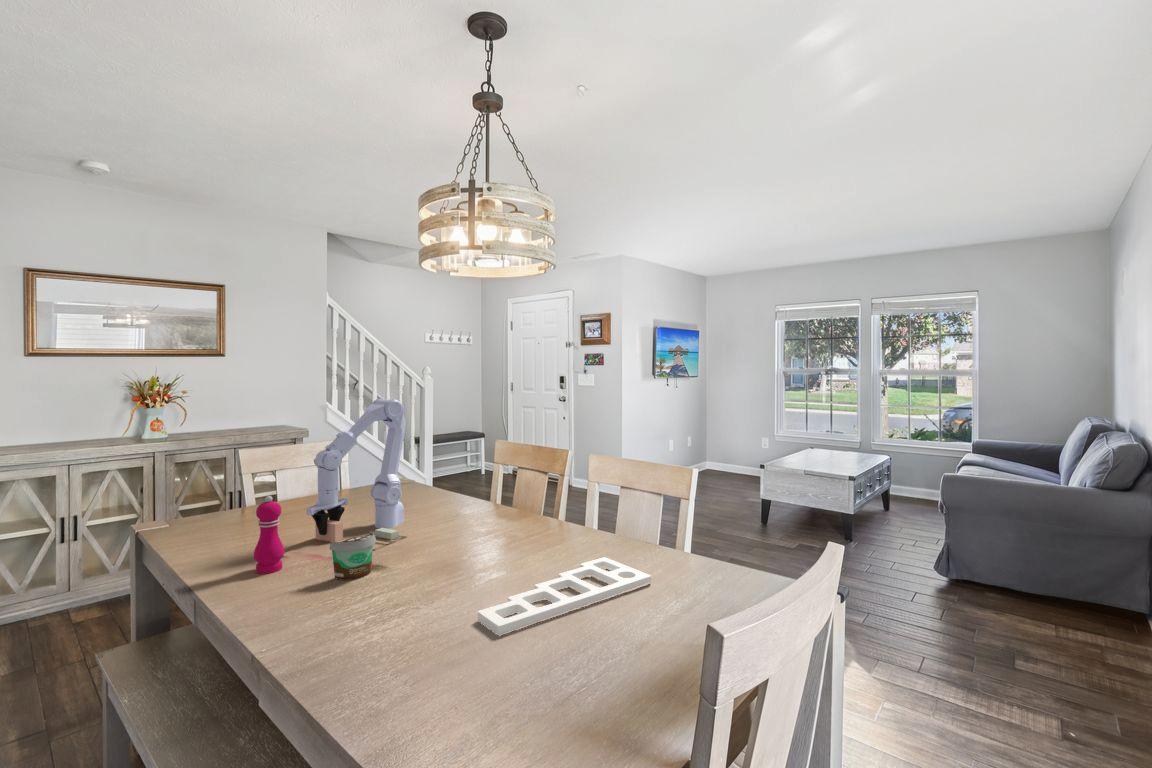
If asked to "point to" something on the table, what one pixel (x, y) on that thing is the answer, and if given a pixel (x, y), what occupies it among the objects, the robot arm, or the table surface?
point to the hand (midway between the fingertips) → (328, 532)
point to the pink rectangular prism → (331, 531)
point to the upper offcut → (386, 533)
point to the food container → (353, 557)
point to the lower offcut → (392, 539)
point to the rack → (387, 541)
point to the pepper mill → (268, 538)
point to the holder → (562, 595)
